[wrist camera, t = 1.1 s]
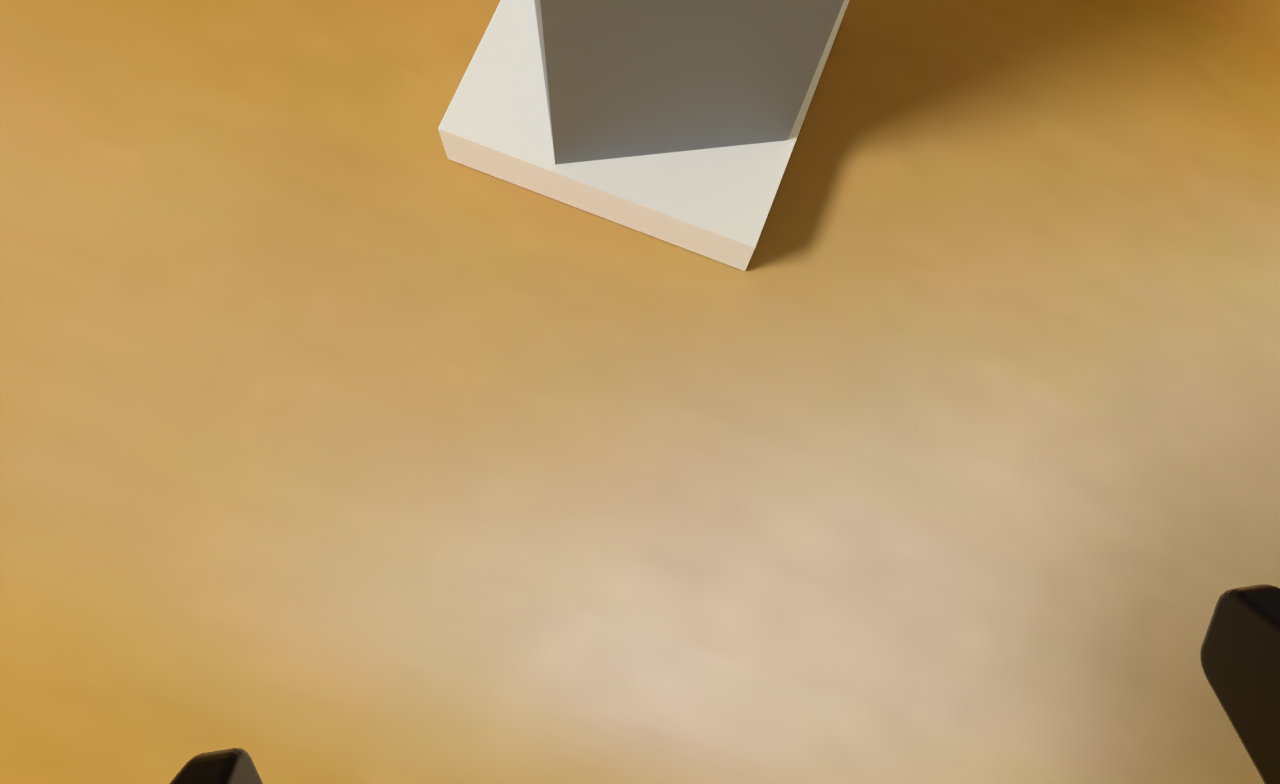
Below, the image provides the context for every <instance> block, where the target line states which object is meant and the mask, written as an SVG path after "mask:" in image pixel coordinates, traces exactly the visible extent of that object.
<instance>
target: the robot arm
mask: <svg viewBox="0 0 1280 784" xmlns="http://www.w3.org/2000/svg"><path fill="white" fill-rule="evenodd" d="M1201 663H1202V667H1203V670H1204V673H1205V675H1206V678H1207V680H1208V682H1209V683H1210V685H1211V687H1212V689H1213V691H1214V692H1215V694H1216V696H1217V698H1218V700H1219V701H1220V703H1221V705H1222V707H1223V709H1224V711H1225V712H1226V714H1227V716H1228V718H1229V720H1230V721H1231V723H1232V725H1233V727H1234V729H1235V730H1236V732H1237V734H1238V736H1239V738H1240V740H1241V741H1242V743H1243V745H1244V747H1245V749H1246V750H1247V752H1248V754H1249V756H1250V758H1251V759H1252V761H1253V763H1254V765H1255V767H1256V769H1257V770H1258V772H1259V774H1260V776H1261V778H1262V779H1263V781H1264V783H1265V784H1280V588H1278V587H1275V586H1271V585H1255V586H1249V587H1243V588H1236V589H1231V590H1228V591H1226V592H1225V593H1223V594H1222V595H1221V596H1220V598H1219V600H1218V602H1217V604H1216V607H1215V610H1214V613H1213V616H1212V618H1211V621H1210V624H1209V627H1208V630H1207V633H1206V635H1205V638H1204V641H1203V644H1202V647H1201ZM170 784H263V783H262V781H261V779H260V777H259V774H258V772H257V770H256V768H255V766H254V764H253V761H252V759H251V757H250V756H249V754H248V753H247V752H246V751H245V750H243V749H241V748H233V749H226V750H220V751H214V752H208V753H203V754H199V755H197V756H195V757H193V758H192V759H191V760H190V761H188V762H187V763H186V765H185V766H184V767H183V768H182V769H181V770H180V772H179V773H178V774H177V775H176V777H175V778H174V779H173V780H172V781H171V783H170Z"/></svg>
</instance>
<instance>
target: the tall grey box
mask: <svg viewBox="0 0 1280 784" xmlns="http://www.w3.org/2000/svg"><path fill="white" fill-rule="evenodd" d="M843 2H844V0H534V3H535V10H536V18H537V26H538V34H539V42H540V49H541V57H542V65H543V73H544V81H545V88H546V96H547V104H548V112H549V120H550V127H551V135H552V143H553V151H554V159H555V165H556V164H565V163H575V162H584V161H594V160H603V159H613V158H622V157H632V156H642V155H651V154H661V153H670V152H680V151H689V150H699V149H708V148H718V147H728V146H737V145H747V144H756V143H766V142H775V141H785V140H788V138H789V136H790V133H791V131H792V128H793V126H794V123H795V121H796V118H797V116H798V113H799V111H800V108H801V106H802V103H803V101H804V99H805V96H806V94H807V91H808V89H809V86H810V84H811V81H812V79H813V76H814V74H815V71H816V69H817V66H818V64H819V61H820V59H821V56H822V54H823V52H824V49H825V47H826V44H827V42H828V39H829V37H830V34H831V32H832V29H833V27H834V24H835V22H836V19H837V17H838V14H839V12H840V9H841V7H842V5H843Z"/></svg>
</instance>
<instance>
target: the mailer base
mask: <svg viewBox="0 0 1280 784" xmlns="http://www.w3.org/2000/svg"><path fill="white" fill-rule="evenodd" d="M849 1H850V0H844V2H843V5H842V7H841V9H840V12H839V14H838V17H837V19H836V22H835V24H834V27H833V29H832V32H831V34H830V37H829V39H828V42H827V44H826V47H825V49H824V52H823V54H822V56H821V59H820V61H819V64H818V66H817V69H816V71H815V74H814V76H813V79H812V81H811V84H810V86H809V89H808V91H807V94H806V96H805V99H804V101H803V103H802V106H801V108H800V111H799V113H798V116H797V118H796V121H795V123H794V126H793V128H792V131H791V133H790V136H789V138H788V140H785V141H775V142H766V143H756V144H747V145H737V146H728V147H718V148H708V149H699V150H689V151H680V152H670V153H661V154H651V155H642V156H632V157H622V158H613V159H603V160H594V161H584V162H575V163H565V164H556V165H555V159H554V151H553V143H552V135H551V127H550V120H549V112H548V104H547V96H546V88H545V81H544V73H543V65H542V57H541V49H540V42H539V34H538V26H537V18H536V10H535V3H534V0H501V1H500V3H499V5H498V7H497V9H496V11H495V13H494V15H493V17H492V19H491V21H490V24H489V26H488V28H487V30H486V32H485V34H484V36H483V38H482V40H481V42H480V44H479V46H478V48H477V50H476V52H475V54H474V56H473V58H472V60H471V62H470V64H469V66H468V68H467V70H466V72H465V74H464V76H463V78H462V80H461V83H460V85H459V87H458V89H457V91H456V93H455V95H454V97H453V99H452V101H451V103H450V105H449V107H448V109H447V111H446V113H445V115H444V117H443V119H442V121H441V123H440V125H439V127H438V130H439V133H440V136H441V139H442V142H443V145H444V148H445V152H446V155H447V158H448V159H450V160H452V161H455V162H458V163H460V164H463V165H465V166H468V167H471V168H473V169H476V170H479V171H481V172H484V173H487V174H489V175H492V176H495V177H497V178H500V179H502V180H505V181H508V182H510V183H513V184H516V185H518V186H521V187H524V188H526V189H529V190H532V191H534V192H537V193H539V194H542V195H545V196H547V197H550V198H553V199H555V200H558V201H561V202H563V203H566V204H569V205H571V206H574V207H576V208H579V209H582V210H584V211H587V212H590V213H592V214H595V215H598V216H600V217H603V218H606V219H608V220H611V221H613V222H616V223H619V224H621V225H624V226H627V227H629V228H632V229H635V230H637V231H640V232H643V233H645V234H648V235H650V236H653V237H656V238H658V239H661V240H664V241H666V242H669V243H672V244H674V245H677V246H680V247H682V248H685V249H687V250H690V251H693V252H695V253H698V254H701V255H703V256H706V257H709V258H711V259H714V260H717V261H719V262H722V263H724V264H727V265H730V266H732V267H735V268H738V269H740V270H743V271H745V270H746V268H747V266H748V263H749V261H750V259H751V257H752V254H753V252H754V250H755V247H756V245H757V242H758V239H759V237H760V234H761V231H762V229H763V226H764V224H765V221H766V218H767V216H768V213H769V210H770V208H771V205H772V203H773V200H774V197H775V195H776V192H777V189H778V187H779V184H780V182H781V179H782V176H783V174H784V171H785V168H786V166H787V163H788V161H789V158H790V155H791V153H792V150H793V147H794V145H795V142H796V140H797V137H798V134H799V132H800V129H801V127H802V124H803V121H804V119H805V116H806V113H807V111H808V108H809V106H810V103H811V100H812V98H813V95H814V92H815V90H816V87H817V85H818V82H819V79H820V77H821V74H822V71H823V69H824V66H825V64H826V61H827V58H828V56H829V53H830V50H831V48H832V45H833V43H834V40H835V37H836V35H837V32H838V29H839V27H840V24H841V22H842V19H843V16H844V14H845V11H846V8H847V6H848V3H849Z"/></svg>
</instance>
